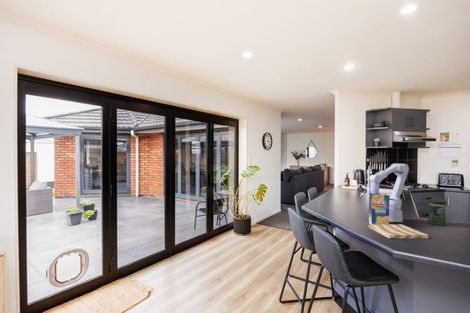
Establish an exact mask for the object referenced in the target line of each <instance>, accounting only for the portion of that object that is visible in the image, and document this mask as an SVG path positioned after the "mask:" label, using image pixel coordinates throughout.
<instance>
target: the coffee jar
mask: <svg viewBox="0 0 470 313" xmlns="http://www.w3.org/2000/svg"><path fill="white" fill-rule="evenodd" d="M428 205H429V211H428V220H427V222H428V224H430V225H433V226H442V227H443V226H446V225H447V222H446V207H447V200H446V199H444V198H443V199H442V198H429V200H428Z"/></svg>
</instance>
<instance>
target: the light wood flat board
mask: <svg viewBox="0 0 470 313" xmlns="http://www.w3.org/2000/svg"><path fill="white" fill-rule="evenodd" d="M367 227H369V228H368V229H370V230H372V231H374V232H376V233H378V234H380V235H382V236H383V237H386V238H388V239H390V238H394V239H429V234H427V233H425V232H422V231H420V230H417V229H414V228H412V227H410V226H407V225H406V224H405V225H404V224H401V223H400V224H390V223H389V224H384V225H371V224H367Z"/></svg>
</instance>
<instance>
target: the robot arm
mask: <svg viewBox="0 0 470 313" xmlns="http://www.w3.org/2000/svg"><path fill="white" fill-rule="evenodd" d="M409 170H410V168H409V165H408V164H406V163H395V162H394V163H392V164H390V166H389V167H387V168H386V169H385V170H383V169H380V170H379V171H378V172H376V173H375V174H371V175H370V176H369V177H368V182H369V186H370V187H369V188H370V190H369V193H380V183H381V182H382V181H383V180H384V179H385V178H388V175H390V174H391V173H392V174H393V173H394V175H396V176H397V177H396V180H395V182H394V183H395V184H394V186H393V189H392V192H391V195H390V198H389V223H390V222H392V223H394V222H395V223H403V222H404V221H403V211H402V210H401V208H402V202H403V201H402V199H401V198H400V197H401V194H402V191H403V187H404V185H405V182H406V181H407V180H406V179H407V176H408V174H409ZM367 199H369V195H367Z"/></svg>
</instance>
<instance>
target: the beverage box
mask: <svg viewBox="0 0 470 313" xmlns="http://www.w3.org/2000/svg"><path fill="white" fill-rule="evenodd" d="M368 196H369V198H368V201H369V202H368V203H369V204H368V209H369V211H368V223H369V225H384V224H390V221H389V198H390V196H391V195H390V194H387V193H381V192H379V193H370V192H369V194H368Z"/></svg>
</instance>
